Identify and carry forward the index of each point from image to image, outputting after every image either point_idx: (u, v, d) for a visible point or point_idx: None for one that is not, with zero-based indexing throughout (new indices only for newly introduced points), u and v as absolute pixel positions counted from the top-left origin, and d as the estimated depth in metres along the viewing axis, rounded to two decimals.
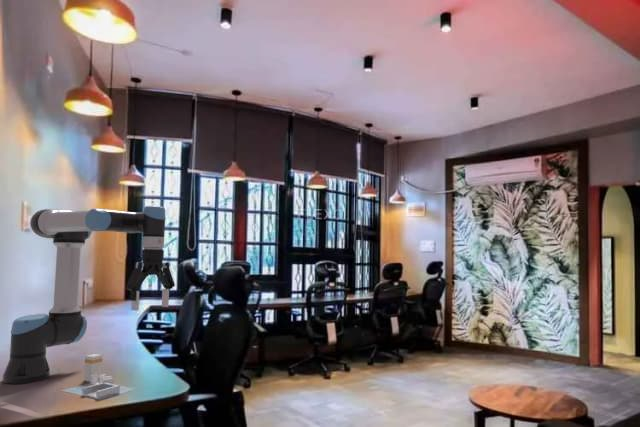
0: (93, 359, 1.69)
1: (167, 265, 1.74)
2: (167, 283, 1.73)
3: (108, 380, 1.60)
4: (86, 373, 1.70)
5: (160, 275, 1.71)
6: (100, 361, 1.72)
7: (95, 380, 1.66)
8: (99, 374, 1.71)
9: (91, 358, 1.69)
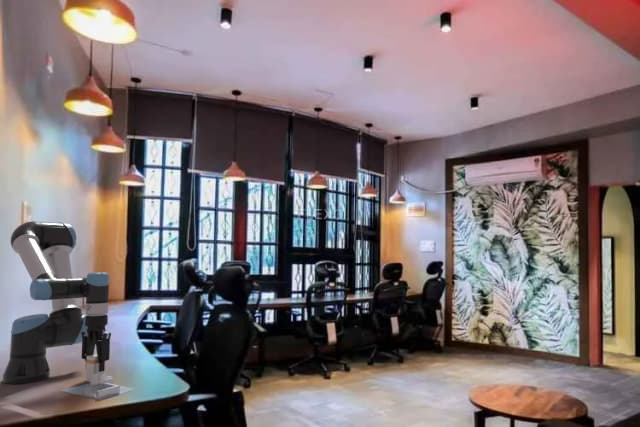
0: (94, 359, 1.69)
1: (103, 336, 1.68)
2: (98, 355, 1.69)
3: (108, 380, 1.60)
4: (87, 373, 1.70)
5: None
6: None
7: (95, 380, 1.66)
8: None
9: (92, 358, 1.69)
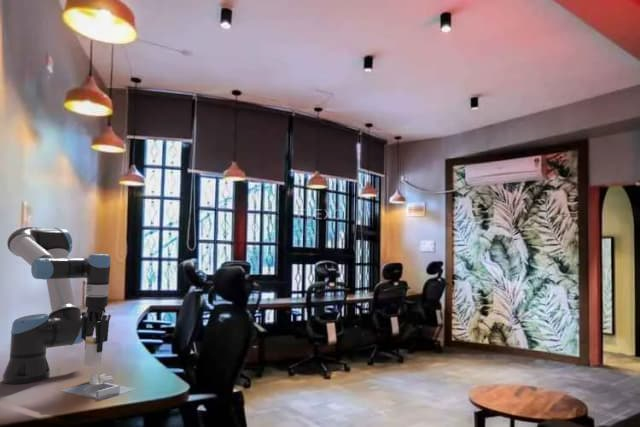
0: (94, 340, 1.70)
1: (102, 318, 1.70)
2: (96, 336, 1.70)
3: (108, 380, 1.60)
4: (87, 354, 1.71)
5: None
6: None
7: (95, 380, 1.66)
8: None
9: (92, 339, 1.70)
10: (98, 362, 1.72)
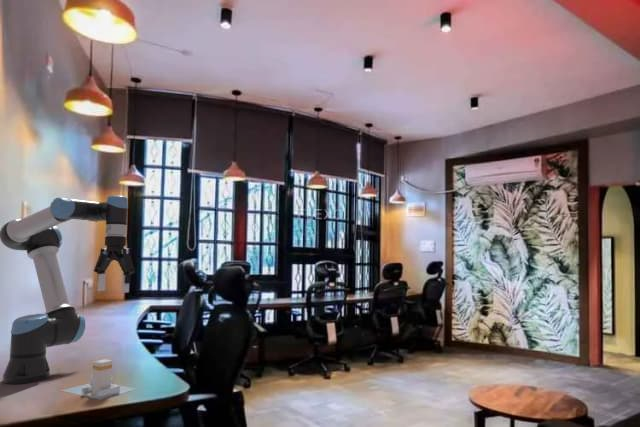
0: (102, 365, 1.52)
1: (123, 251, 1.76)
2: (122, 269, 1.75)
3: None
4: (94, 381, 1.53)
5: None
6: (109, 368, 1.55)
7: None
8: (108, 382, 1.54)
9: (100, 364, 1.52)
10: None
